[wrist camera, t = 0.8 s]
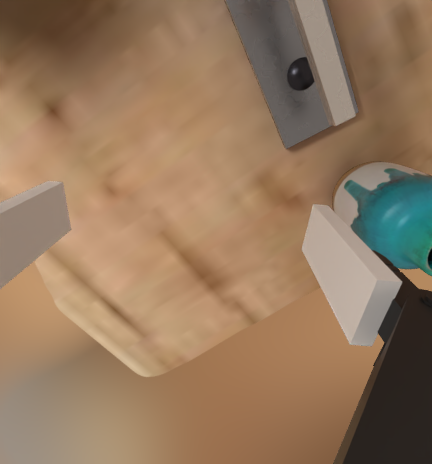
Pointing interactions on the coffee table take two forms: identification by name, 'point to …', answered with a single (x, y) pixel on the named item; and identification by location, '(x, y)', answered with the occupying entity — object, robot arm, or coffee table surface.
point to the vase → (389, 211)
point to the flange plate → (283, 66)
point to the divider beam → (323, 59)
